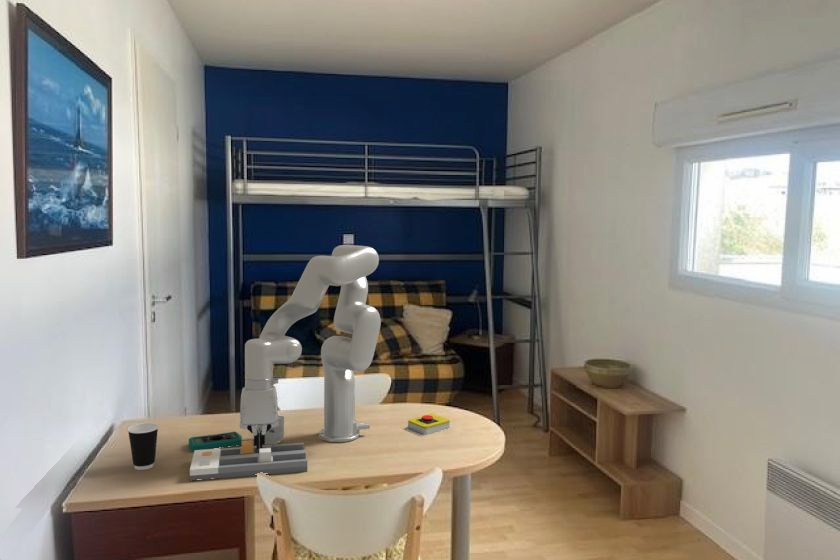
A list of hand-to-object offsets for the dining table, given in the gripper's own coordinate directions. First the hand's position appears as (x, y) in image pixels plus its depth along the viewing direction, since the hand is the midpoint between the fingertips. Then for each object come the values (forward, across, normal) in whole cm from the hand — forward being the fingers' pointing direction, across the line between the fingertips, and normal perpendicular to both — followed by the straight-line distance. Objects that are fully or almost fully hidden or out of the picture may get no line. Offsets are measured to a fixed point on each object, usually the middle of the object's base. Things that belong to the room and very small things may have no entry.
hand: (259, 447), depth 179 cm
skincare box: (+4, -4, -16) cm, 17 cm away
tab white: (+2, -1, +7) cm, 7 cm away
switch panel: (+4, +2, +3) cm, 6 cm away
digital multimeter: (+4, +13, -16) cm, 20 cm away
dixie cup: (+4, +30, -3) cm, 31 cm away
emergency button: (+4, -54, -17) cm, 57 cm away
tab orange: (+2, +3, 0) cm, 4 cm away
